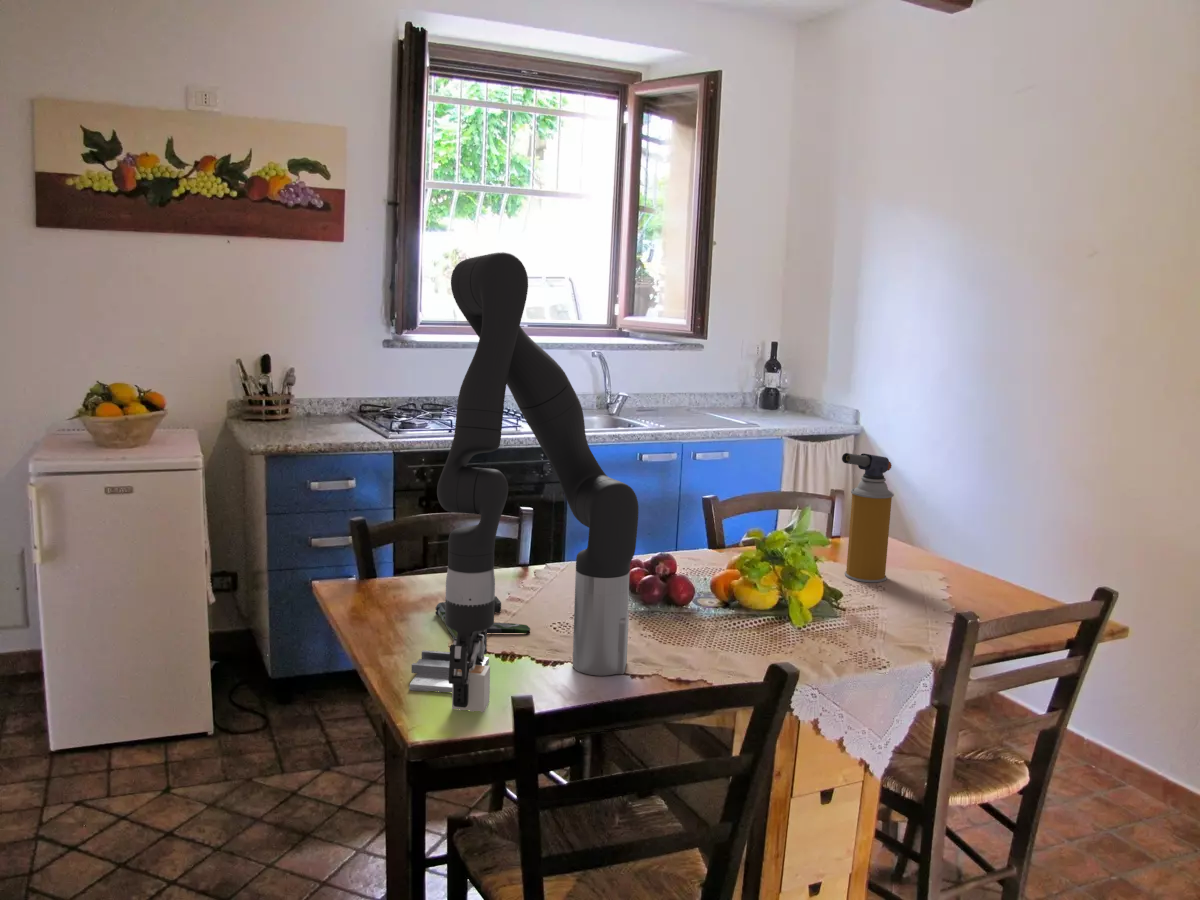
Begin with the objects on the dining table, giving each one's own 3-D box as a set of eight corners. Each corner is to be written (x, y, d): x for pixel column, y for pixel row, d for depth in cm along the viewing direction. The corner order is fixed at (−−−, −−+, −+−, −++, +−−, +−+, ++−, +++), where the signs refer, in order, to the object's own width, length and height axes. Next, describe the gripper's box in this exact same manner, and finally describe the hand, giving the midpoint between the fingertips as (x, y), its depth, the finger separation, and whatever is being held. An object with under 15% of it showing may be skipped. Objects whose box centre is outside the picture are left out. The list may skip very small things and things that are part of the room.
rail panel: (488, 662, 179) (489, 649, 179) (470, 694, 165) (470, 680, 165) (426, 658, 180) (426, 644, 180) (403, 689, 166) (403, 675, 166)
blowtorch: (895, 578, 239) (906, 450, 234) (853, 589, 229) (863, 456, 224) (862, 568, 246) (872, 444, 241) (819, 579, 236) (828, 449, 231)
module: (489, 701, 163) (490, 664, 162) (483, 712, 159) (484, 673, 158) (458, 699, 164) (458, 662, 163) (452, 709, 160) (452, 671, 159)
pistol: (537, 649, 191) (458, 655, 185) (503, 608, 211) (430, 611, 205) (538, 633, 191) (459, 638, 185) (504, 593, 210) (431, 596, 204)
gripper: (483, 611, 151) (480, 716, 154) (504, 584, 165) (501, 680, 168) (433, 607, 152) (431, 711, 155) (458, 580, 166) (456, 676, 169)
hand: (467, 695), depth 161 cm, fingers open, 8 cm apart
